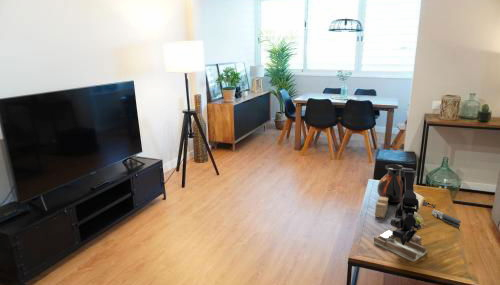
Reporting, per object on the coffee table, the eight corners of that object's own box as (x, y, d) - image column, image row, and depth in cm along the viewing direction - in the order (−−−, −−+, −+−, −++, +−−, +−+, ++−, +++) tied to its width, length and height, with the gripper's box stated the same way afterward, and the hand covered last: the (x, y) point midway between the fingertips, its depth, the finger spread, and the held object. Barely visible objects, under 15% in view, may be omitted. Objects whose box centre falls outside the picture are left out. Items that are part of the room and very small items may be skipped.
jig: (387, 235, 208) (388, 230, 207) (427, 252, 189) (427, 247, 188) (373, 242, 200) (374, 237, 199) (413, 261, 181) (413, 256, 180)
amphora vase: (378, 195, 266) (380, 161, 259) (408, 200, 257) (412, 164, 250) (374, 206, 247) (377, 169, 240) (407, 211, 238) (411, 173, 231)
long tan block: (404, 234, 209) (405, 226, 208) (421, 246, 196) (422, 237, 195) (397, 236, 208) (398, 227, 206) (415, 247, 195) (416, 239, 193)
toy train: (374, 218, 229) (375, 205, 227) (378, 209, 243) (379, 195, 241) (383, 220, 226) (384, 206, 224) (387, 210, 241) (388, 197, 238)
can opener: (429, 216, 232) (430, 209, 230) (436, 214, 234) (437, 207, 233) (456, 228, 215) (457, 221, 213) (463, 226, 217) (464, 219, 216)
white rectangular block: (388, 236, 205) (388, 230, 204) (394, 239, 202) (394, 232, 201) (379, 241, 200) (380, 235, 199) (385, 244, 197) (386, 238, 196)
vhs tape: (434, 210, 241) (434, 207, 240) (421, 207, 245) (422, 205, 244) (436, 202, 253) (436, 200, 252) (424, 200, 257) (424, 198, 256)
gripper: (403, 208, 199) (401, 232, 203) (384, 217, 189) (382, 242, 193) (422, 215, 190) (419, 240, 194) (403, 225, 180) (400, 251, 184)
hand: (405, 243), depth 191 cm, fingers open, 4 cm apart
